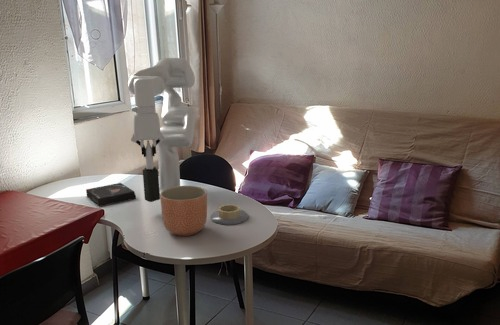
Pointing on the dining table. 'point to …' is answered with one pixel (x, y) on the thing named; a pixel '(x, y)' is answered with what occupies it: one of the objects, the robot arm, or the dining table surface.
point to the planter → (184, 209)
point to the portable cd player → (110, 194)
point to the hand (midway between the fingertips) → (149, 155)
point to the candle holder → (229, 215)
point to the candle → (150, 177)
